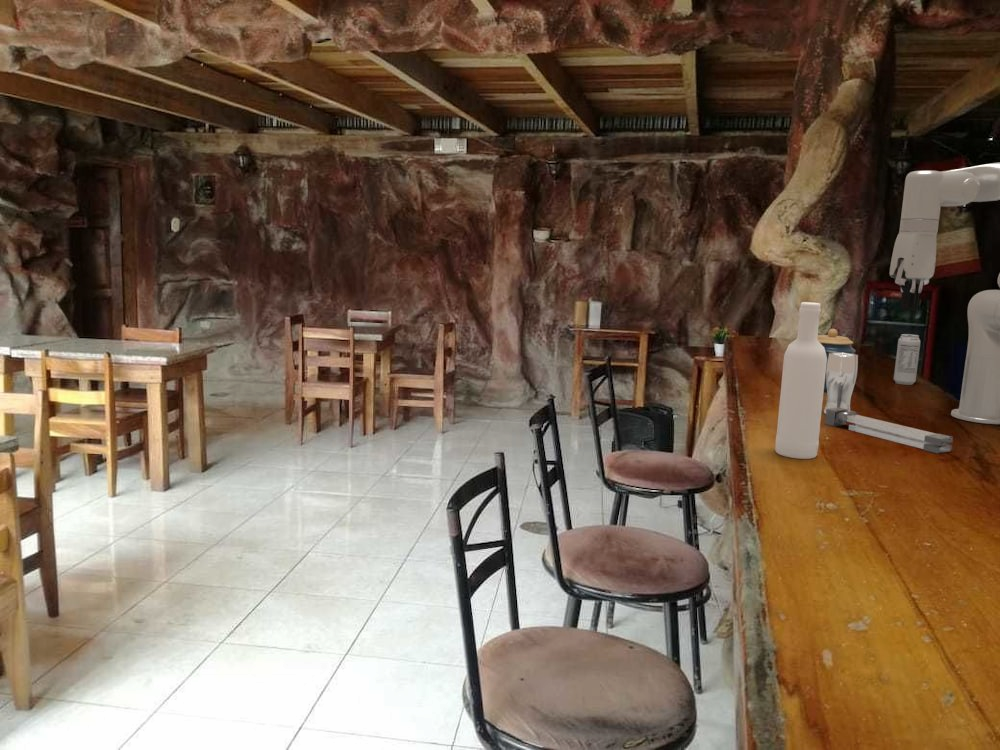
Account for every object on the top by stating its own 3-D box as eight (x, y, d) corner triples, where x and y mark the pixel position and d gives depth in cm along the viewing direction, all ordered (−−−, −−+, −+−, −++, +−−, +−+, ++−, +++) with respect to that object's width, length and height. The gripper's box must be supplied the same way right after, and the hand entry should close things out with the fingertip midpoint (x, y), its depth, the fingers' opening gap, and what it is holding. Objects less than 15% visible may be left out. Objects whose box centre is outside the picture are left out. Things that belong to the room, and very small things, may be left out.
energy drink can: (915, 383, 237) (921, 335, 235) (914, 386, 232) (920, 336, 230) (894, 380, 240) (899, 333, 238) (892, 383, 235) (898, 335, 233)
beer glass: (855, 418, 186) (862, 357, 183) (825, 416, 187) (831, 355, 184) (848, 412, 192) (855, 353, 190) (819, 410, 194) (825, 351, 191)
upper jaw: (835, 421, 176) (836, 411, 175) (848, 419, 178) (849, 409, 178) (938, 447, 155) (939, 436, 155) (952, 445, 158) (953, 434, 157)
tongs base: (824, 424, 179) (825, 409, 178) (837, 422, 181) (839, 407, 180) (937, 453, 155) (939, 436, 155) (951, 451, 158) (953, 434, 157)
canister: (793, 385, 228) (799, 326, 224) (829, 384, 231) (835, 326, 228) (823, 394, 215) (830, 331, 212) (861, 392, 219) (868, 331, 216)
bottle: (790, 460, 148) (806, 304, 142) (766, 449, 155) (780, 301, 150) (826, 458, 150) (842, 304, 144) (800, 447, 157) (815, 301, 152)
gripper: (922, 229, 178) (913, 308, 181) (882, 227, 170) (872, 309, 173) (955, 229, 171) (944, 311, 174) (914, 227, 164) (903, 312, 167)
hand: (908, 310), depth 174 cm, fingers closed
